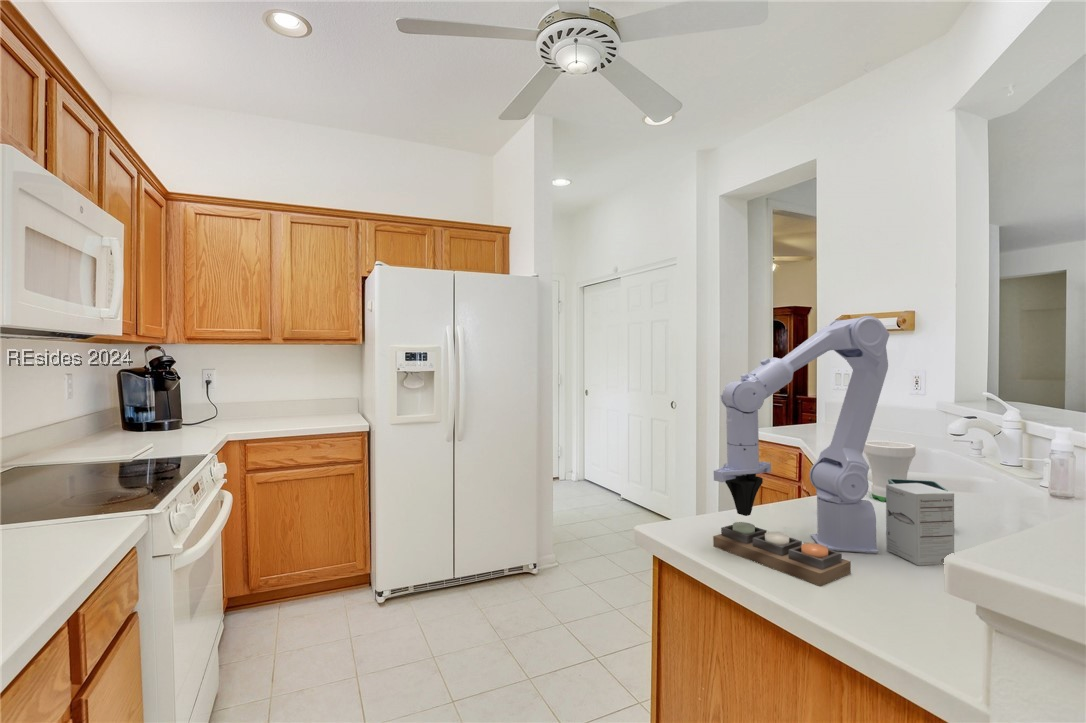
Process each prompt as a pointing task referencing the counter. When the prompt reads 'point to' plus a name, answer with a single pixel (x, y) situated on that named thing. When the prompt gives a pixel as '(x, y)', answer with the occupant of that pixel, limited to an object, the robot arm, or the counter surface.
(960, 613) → the counter surface
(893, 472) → the cup
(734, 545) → the button board
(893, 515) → the supplement box
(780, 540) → the cream button
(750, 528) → the sage button
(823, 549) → the terracotta button
